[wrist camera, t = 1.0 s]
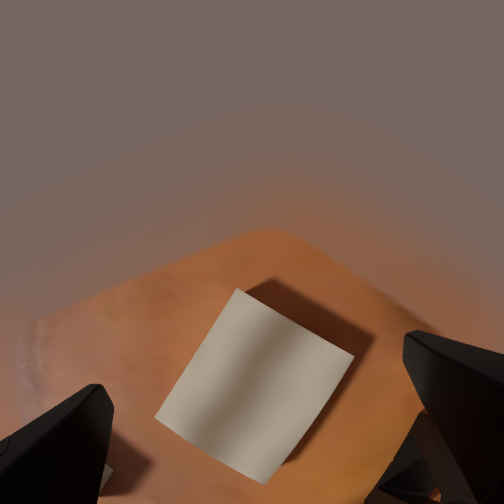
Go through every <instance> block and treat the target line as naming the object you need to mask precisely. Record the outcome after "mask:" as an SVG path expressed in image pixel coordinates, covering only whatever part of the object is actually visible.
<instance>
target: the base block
mask: <svg viewBox="0 0 504 504" xmlns="http://www.w3.org/2000/svg"><path fill="white" fill-rule="evenodd" d="M354 357H355V356H353V355H351V354H349V353H347V352H346V351H344V350H342V349H340V348H338V347H337V346H335V345H333V344H331V343H330V342H328V341H326V340H324V339H322V338H321V337H319V336H317V335H315V334H314V333H312V332H310V331H309V330H307V329H305V328H303V327H302V326H300V325H298V324H296V323H295V322H293V321H291V320H290V319H288V318H286V317H285V316H283V315H281V314H279V313H278V312H276V311H274V310H273V309H271V308H269V307H268V306H266V305H264V304H263V303H261V302H259V301H258V300H256V299H254V298H253V297H251V296H249V295H248V294H246V293H244V292H243V291H241V290H240V289H238V288H237V289H236V290H235V292H234V293H233V295H232V296H231V298H230V300H229V301H228V303H227V304H226V306H225V308H224V309H223V311H222V312H221V314H220V315H219V317H218V319H217V320H216V322H215V323H214V325H213V326H212V328H211V330H210V331H209V333H208V334H207V336H206V337H205V339H204V341H203V342H202V344H201V345H200V347H199V348H198V350H197V352H196V353H195V355H194V356H193V358H192V359H191V361H190V363H189V364H188V366H187V367H186V369H185V370H184V372H183V374H182V375H181V377H180V378H179V380H178V381H177V383H176V385H175V386H174V388H173V389H172V391H171V392H170V394H169V395H168V397H167V399H166V400H165V402H164V403H163V405H162V406H161V408H160V409H159V411H158V413H157V414H156V416H155V418H156V419H157V420H159V421H160V422H161V423H163V424H164V425H165V426H167V427H168V428H170V429H171V430H172V431H174V432H175V433H177V434H178V435H180V436H181V437H182V438H184V439H185V440H187V441H188V442H190V443H191V444H193V445H194V446H196V447H198V448H199V449H201V450H202V451H204V452H205V453H207V454H209V455H210V456H212V457H214V458H215V459H217V460H219V461H220V462H222V463H224V464H225V465H227V466H229V467H231V468H233V469H234V470H236V471H238V472H240V473H242V474H244V475H245V476H247V477H249V478H251V479H253V480H255V481H257V482H259V483H261V484H263V485H264V484H265V483H266V482H267V481H268V480H269V479H270V477H271V476H272V475H273V474H274V473H275V471H276V470H277V469H278V468H279V467H280V465H281V464H282V463H283V462H284V460H285V459H286V458H287V456H288V455H289V454H290V453H291V451H292V450H293V449H294V447H295V446H296V445H297V443H298V442H299V441H300V439H301V438H302V437H303V435H304V434H305V433H306V431H307V430H308V428H309V427H310V426H311V424H312V423H313V421H314V420H315V418H316V417H317V416H318V414H319V413H320V411H321V410H322V408H323V407H324V405H325V404H326V402H327V401H328V399H329V398H330V396H331V395H332V393H333V391H334V390H335V388H336V387H337V385H338V383H339V382H340V380H341V379H342V377H343V375H344V374H345V372H346V370H347V369H348V367H349V365H350V364H351V362H352V360H353V359H354Z"/></svg>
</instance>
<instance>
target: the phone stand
mask: <svg viewBox="0 0 504 504" xmlns="http://www.w3.org/2000/svg"><path fill="white" fill-rule="evenodd" d="M436 485H437V486H438V488H439V491H440V493H441V499H440V502H438V501H435V500H432V499H430V498H429V496H430V494H431V492H432V491H433V489H434V488H435V486H436ZM364 504H478V503H477V501H476V499H475V497H474V495H473V493H472V491H471V489H470V487H469V485H468V483H467V481H466V480H465V478H464V476H463V474H462V472H461V470H460V468H459V466H458V465H457V463H456V461H455V459H454V457H453V455H452V454H451V452H450V450H449V448H448V446H447V445H446V443H445V441H444V439H443V438H442V436H441V434H440V432H439V431H438V429H437V427H436V426H435V424H434V422H433V420H432V419H431V417H430V415H427V414H424V413H419V414H418V416H417V418H416V420H415V422H414V423H413V425H412V427H411V429H410V431H409V433H408V434H407V436H406V438H405V440H404V441H403V443H402V445H401V447H400V448H399V450H398V452H397V453H396V455H395V456H394V460H393V461H392V462H391V463H390V464H389V466H388V467H387V469H386V471H385V472H384V474H383V475H382V477H381V478H380V479H379V481H378V482H377V484H376V485H375V487H374V488H373V489H372V491H371V492H370V493H369V495H368V496H367V498H366V499H365V501H364Z"/></svg>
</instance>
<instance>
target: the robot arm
mask: <svg viewBox="0 0 504 504" xmlns="http://www.w3.org/2000/svg"><path fill="white" fill-rule="evenodd" d="M402 358H403V363H404V365H405V367H406V370H407V372H408V374H409V376H410V378H411V380H412V382H413V385H414V387H415V389H416V391H417V393H418V396H419V398H420V400H421V402H422V403H423V405H424V407H425V409H426V410H427V412H428V414H429V415H430V417H431V419H432V420H433V422H434V424H435V426H436V427H437V429H438V431H439V432H440V434H441V436H442V438H443V439H444V441H445V443H446V445H447V446H448V448H449V450H450V452H451V454H452V455H453V457H454V459H455V461H456V463H457V465H458V466H459V468H460V470H461V472H462V474H463V476H464V478H465V480H466V481H467V483H468V485H469V487H470V489H471V491H472V493H473V495H474V497H475V499H476V501H477V503H478V504H504V354H501V353H497V352H493V351H490V350H486V349H482V348H479V347H476V346H472V345H469V344H465V343H462V342H458V341H455V340H451V339H448V338H444V337H441V336H437V335H434V334H431V333H427V332H424V331H421V330H414V331H411V332H408V333H406V334H405V336H404V344H403V355H402ZM113 415H114V406H113V403H112V401H111V399H110V397H109V395H108V394H107V392H106V390H105V388H104V386H103V385H101V384H89V385H87V386H86V387H84V388H83V389H81V390H80V391H78V392H77V393H75V394H74V395H72V396H71V397H69V398H67V399H66V400H64V401H63V402H61V403H60V404H58V405H57V406H55V407H54V408H52V409H51V410H49V411H47V412H46V413H44V414H43V415H41V416H40V417H38V418H36V419H35V420H33V421H32V422H30V423H29V424H27V425H25V426H24V427H22V428H21V429H19V430H18V431H16V432H14V433H13V434H12V435H10V436H8V437H6V438H5V439H3V440H2V441H0V504H97V501H98V496H99V491H100V486H101V482H102V477H103V472H104V468H105V463H106V459H107V455H108V450H109V444H110V436H111V428H112V421H113Z"/></svg>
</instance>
